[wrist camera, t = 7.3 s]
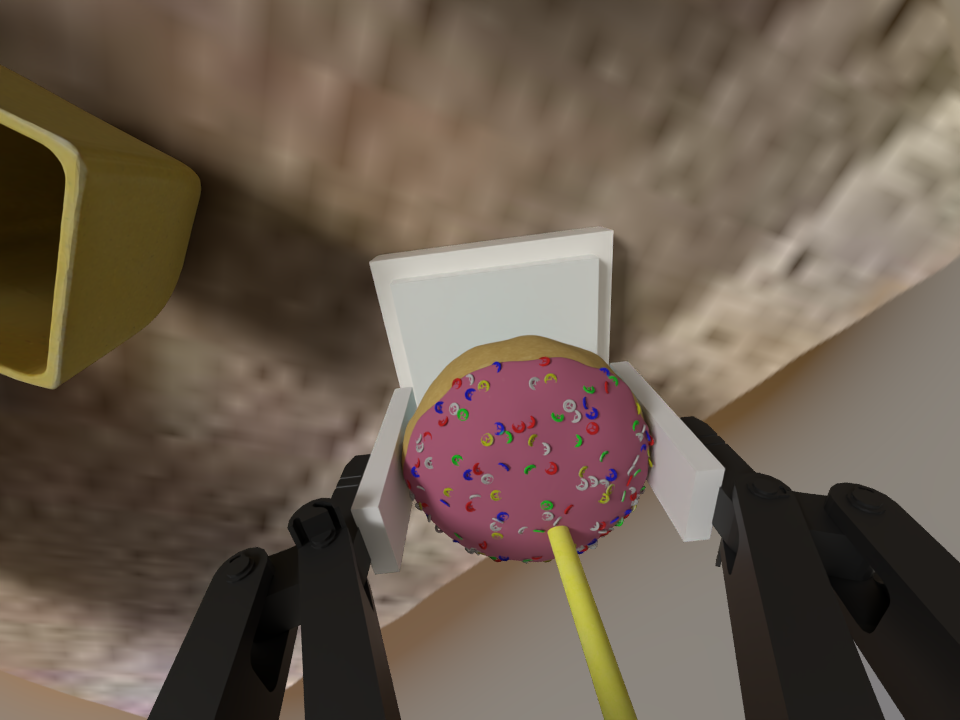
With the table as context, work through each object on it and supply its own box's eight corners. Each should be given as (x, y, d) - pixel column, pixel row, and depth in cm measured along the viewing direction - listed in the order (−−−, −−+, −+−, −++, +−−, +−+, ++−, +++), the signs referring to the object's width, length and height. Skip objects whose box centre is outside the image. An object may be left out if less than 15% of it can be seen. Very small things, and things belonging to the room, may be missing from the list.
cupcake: (639, 397, 17) (930, 759, 6) (502, 490, 19) (542, 872, 9) (525, 259, 14) (694, 485, 3) (380, 387, 17) (209, 764, 6)
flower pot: (256, 167, 18) (80, 151, 10) (213, 315, 21) (52, 397, 13) (50, 51, 16) (-396, -95, 8) (36, 235, 19) (-291, 271, 11)
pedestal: (420, 434, 25) (414, 464, 22) (378, 255, 20) (363, 265, 17) (596, 413, 25) (612, 441, 22) (600, 226, 19) (621, 232, 17)
